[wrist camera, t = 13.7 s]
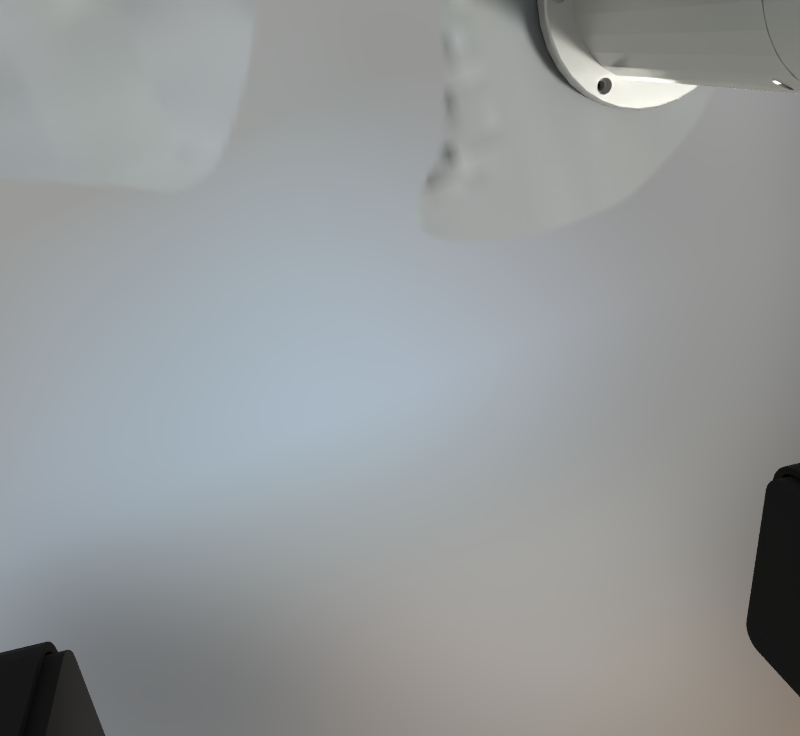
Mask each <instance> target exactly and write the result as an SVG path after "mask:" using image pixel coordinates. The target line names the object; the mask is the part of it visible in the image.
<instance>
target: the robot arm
mask: <svg viewBox="0 0 800 736" xmlns="http://www.w3.org/2000/svg"><path fill="white" fill-rule="evenodd" d="M537 4H538V12H539V19H540V27H541V30H542V33H543V37H544V40H545V43H546V46H547V50H548V51H549V53H550V55H551V57H552V59H553V61H554V63H555V65H556V67H557V69H558V70H559V71H560V72H561V73H562V75H563V76H564V77H565V78H566V80H567V81H568V82H569V83H570V85H572V86H573V87H574V88H575V89H577V90H578V91H579V92H581V93H582V94H583V95H584V96H586V97H588V98H590V99H592V100H594V101H596V102H598V103H600V104H602V105H606V106H611V107H615V108H620V109H632V110H642V109H649V108H657V107H660V106H662V105H665V104H668V103H671V102H674V101H676V100H678V99H680V98H681V97H683V96H685V95H687V94H688V93H690V92H692V91H693V90H695V89H696V88H697V87H698V86H711V87H725V88H736V89H748V90H749V89H750V90H761V91H773V92H785V93H798V94H800V0H537ZM598 82H600V88H599V89H597V85H598ZM746 625H747V631H748V635H749V637H750V640H751V642H752V644H753V645H754V647H755V648H756V649H757V651H758V652H759V653H760V654H761V655H762V656H763V657H764V658H765V659H766V660H767V662H768V663H769V664H770V665H771V666H772V667H773V668H774V669H775V670H776V671H777V672H778V674H779V675H780V676H781V677H782V678H783V679H784V680H785V681H786V682H787V683H788V684H789V686H790V687H791V688H792V689H793V690H794V691H795V692H796V693H797V694H798V695H799V697H800V463H798V464H793V465H789V466H785V467H782V468H780V469H779V470H778V471H777V472H776V473H775V475H774V478H773V481H771V482H770V483H769V484H768V485H767V489H766V494H765V501H764V507H763V514H762V521H761V527H760V534H759V541H758V547H757V555H756V561H755V568H754V574H753V581H752V588H751V595H750V601H749V608H748V615H747V623H746ZM0 736H105V734H104V732H103V729H102V726H101V724H100V721H99V718H98V716H97V713H96V710H95V708H94V705H93V703H92V700H91V697H90V695H89V692H88V689H87V687H86V684H85V682H84V679H83V676H82V674H81V671H80V669H79V666H78V663H77V661H76V658H75V656H74V654H73V652H72V651H71V650H65V651H61V652H58V651H57V649H56V647H55V646H54V645H53V644H52V643H51V642H44V643H40V644H35V645H31V646H27V647H23V648H19V649H14V650H10V651H6V652H2V653H0Z"/></svg>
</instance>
